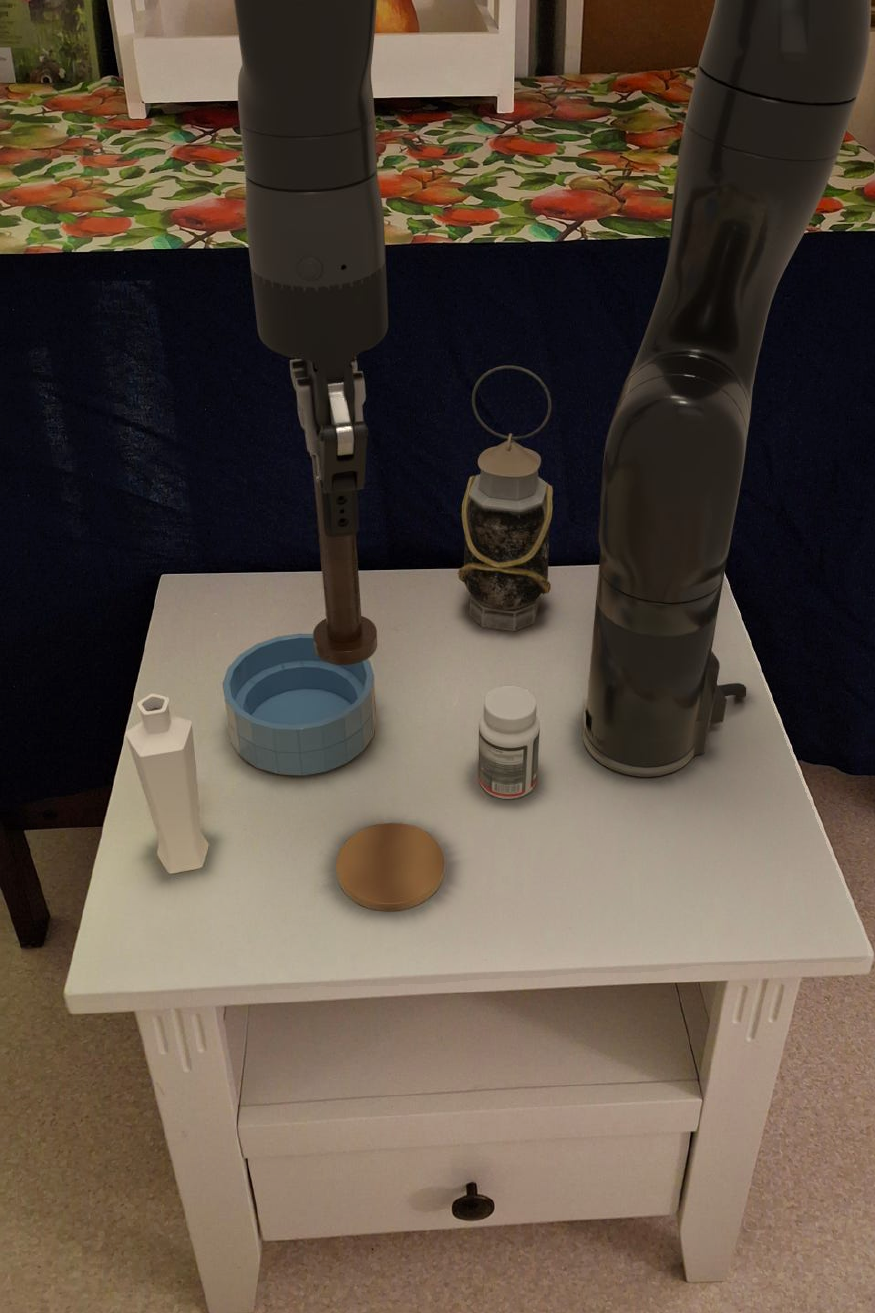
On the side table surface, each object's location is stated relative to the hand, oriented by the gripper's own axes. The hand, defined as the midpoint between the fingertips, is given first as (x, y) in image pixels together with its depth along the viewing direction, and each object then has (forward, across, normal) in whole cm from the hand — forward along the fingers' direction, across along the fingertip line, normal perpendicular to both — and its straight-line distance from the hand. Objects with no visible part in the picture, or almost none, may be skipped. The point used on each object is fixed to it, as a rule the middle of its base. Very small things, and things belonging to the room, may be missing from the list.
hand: (337, 519), depth 78 cm
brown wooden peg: (+10, 0, 0) cm, 10 cm away
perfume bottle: (+27, -1, +14) cm, 30 cm away
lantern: (+27, +23, -18) cm, 40 cm away
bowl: (+27, +11, +3) cm, 29 cm away
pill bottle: (+27, +1, -12) cm, 30 cm away
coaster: (+27, -6, -1) cm, 28 cm away
